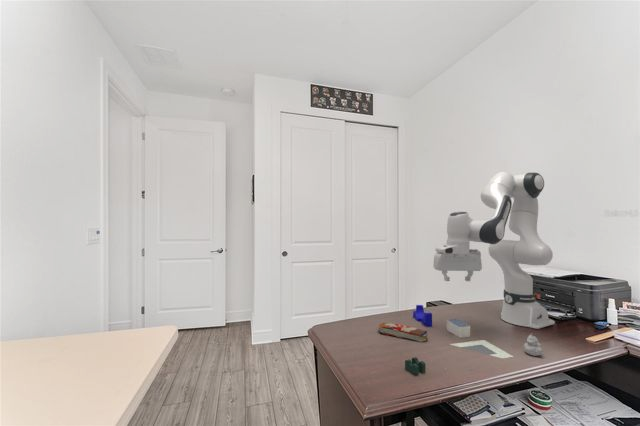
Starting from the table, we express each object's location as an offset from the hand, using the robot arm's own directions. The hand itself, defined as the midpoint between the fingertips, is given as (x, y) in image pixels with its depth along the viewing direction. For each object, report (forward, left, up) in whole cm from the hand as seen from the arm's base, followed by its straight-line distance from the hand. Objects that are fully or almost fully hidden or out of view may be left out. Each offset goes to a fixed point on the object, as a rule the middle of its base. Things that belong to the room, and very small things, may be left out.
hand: (457, 280), depth 117 cm
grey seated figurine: (-14, +22, -22) cm, 34 cm away
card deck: (+1, +1, -22) cm, 22 cm away
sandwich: (+25, -1, -23) cm, 34 cm away
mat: (+5, +16, -22) cm, 28 cm away
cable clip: (+8, -14, -23) cm, 28 cm away
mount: (+36, +24, -23) cm, 49 cm away
